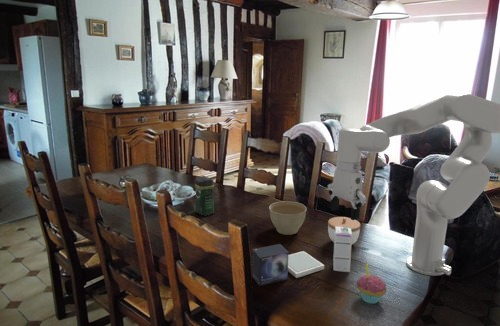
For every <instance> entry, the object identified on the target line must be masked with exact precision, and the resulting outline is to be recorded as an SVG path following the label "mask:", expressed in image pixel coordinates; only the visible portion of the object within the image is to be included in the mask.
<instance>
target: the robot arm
mask: <svg viewBox="0 0 500 326" xmlns="http://www.w3.org/2000/svg"><path fill="white" fill-rule="evenodd" d="M448 121H457V122H461V123H462V124H463V128H464V133H463V137H462V139H461V141H460V142H459V143H458V145H457V146H456V148H455V149H454V150H453V152H452V153H451V154H450V155H449V156H448V157H447V159H446V160H445V161H443V164H442V165H441V167H440V170H439V171H440V175H441V177H442V179H444V180H445V181H446V182H448V183H450V184H449V185H447V184H445V183H443V182H441V181H438V180H435V179H434V180H433V179H431V180H425V181H424V182H422V183H421V184H420V185H419V187H417V191H416V220H415V228H414V236H413V246H412V250H411V251H412V253H411V256H408V257H407V258H406V265H407V267H408V268H410V270H412V271H414V272H416V273H418V274H421V275H426V276H432V277H436V276H442V275H444V274H445V275H447V276H450V275H451V274H452V270H453V269H452V268H453V267H451V266H449V265H447V264H446V259H445V258H444V257H443V256H444V247H445V241H446V234H447V229H448V220H454V219H456V218H460V217H461V216H462V215H463V214H464V213H466V211H467V210H468V209H469V208H470V207H471V206H472V205H473V203H474V202H475V201H476V200H477V199H478V197H479V196H480V195H481V194H482V193H483V192H484V190H485V189H486V188H487V186H488V185H489V181H490V179H491V178H490V177H491V175H490V174H491V173H490V170H489V169H488V167H487V166H486V165H485V164H484V163H482V162H483V160H484V159H485V158H486V157H487V155H488V154H489V153H490V151H491V148H492V145H493V142H492V141H493V135H492V134H500V103H498V102H496V101H495V102H494V101H492V100H489V99H486V98H484V97H480V96H478V95H474V94H471V93H468V92H453V91H451V92H450V91H449V92H445V93H442V94H440V95H438V96H435V97H433V98H432V99H429V100H427V101H425V102H423V103H420V104H418V105H416V106H414V107H411V108H409V109H406V110H402V111H399V112H396V113H393V114H390V115H387V116H383V117H380V118H378V119H376V120H373V121H371V122H370V123H369V122H368V123H367V124H365V125H363V126H362V127H360V128H354V127H347V128H345V127H344V128H342V129H340V130H339V132H338V137H337V155H336V167H335V170H334V173H333V178H332V182H331V183H329V184H327V189H328V194H329V196H330V197H329V199H330V200H331V201H330V211H332V212H333V211H337V210H338V211H339V208H340V199H342V200H344V201H346V202H350V204H351V206H352V208H351V211H350V218H351V220H359V218H360V214H361V213H360V212H361V211H360V210H361V209H362V207H363V206H365V204H366V202H367V200H368V198H367V196H366V195H365V194H364V193H363V188H364V187H363V185H364V183H363V174H362V171H361V170H362V166H361V161H362V159H361V158H362V152H368V153H374V154H379V153H382V152H384V151H386V150H388V148H389V146H390V143H391V142H390V141H391V139H390V138H392V137H395V136H396V137H397V136H402V135H403V136H405V135H406V136H407V135H418V134H421V133H424V132H427V131H428V130H430V129H432V128H436V127H438V126H439V125H442V124H445V123H446V122H448Z"/></svg>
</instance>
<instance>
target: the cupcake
mask: <svg viewBox="0 0 500 326" xmlns="http://www.w3.org/2000/svg"><path fill="white" fill-rule="evenodd" d="M365 267H366V268H365V270H366V271H365V272H366V274H365V275H362V276H360V277H359V278H358V279H357V280H356V287H357V289H358V291H359V292H360V296H361V300H363V301H364V302H365V303H368V304H373V305H374V304H377V303H378V302H379V300H380V298H381V297H383V296H384V295H386V293H387V284H386V283H385V281H384V280H383V279H381V278H380V277H378V276H376V275H372V274H370V271H369V263H368V262H367V261H365Z"/></svg>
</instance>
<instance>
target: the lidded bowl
mask: <svg viewBox="0 0 500 326" xmlns="http://www.w3.org/2000/svg"><path fill="white" fill-rule="evenodd" d="M335 226H336V227H350V228H351V232H352V243H351V246H352V245H353V244H355V243H356V242H357V241H358V239H359V235H360V230H361V223H360V222H359V220H358V219H356V220H351V217H347V216H334V217H331V218H329V220H328V221H327V231H328V236H329V238H330V240H331V241H332V242H333V243H334V235H335Z"/></svg>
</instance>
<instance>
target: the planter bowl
mask: <svg viewBox="0 0 500 326" xmlns="http://www.w3.org/2000/svg"><path fill="white" fill-rule="evenodd" d="M268 209H269V210H268V211H269V216H270V217H269V218H270V220H271V222H272V225H273V226H274V227H275V229H276V231H277V233H279V234H281V235H287V236H288V235H290V236H292V235H295V234H297V233H298V232H299V229H300V228H301V227H302V226H303V224H304V222H305V219H306V214H307V206H305V205H304V204H303V203H300V202H297V201H277V202H273V203H271V204H270V205H269V207H268Z"/></svg>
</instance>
